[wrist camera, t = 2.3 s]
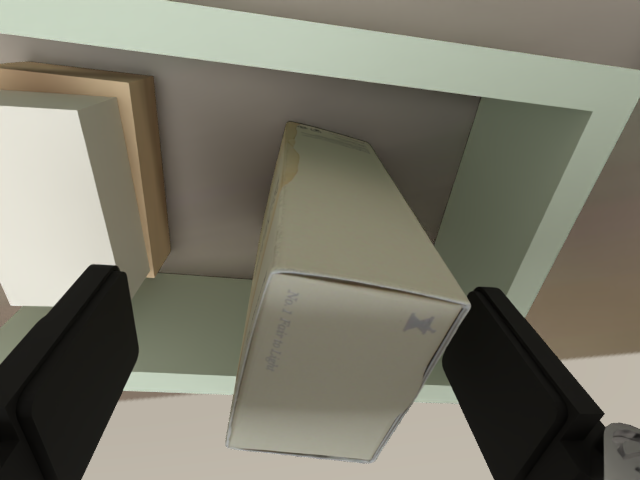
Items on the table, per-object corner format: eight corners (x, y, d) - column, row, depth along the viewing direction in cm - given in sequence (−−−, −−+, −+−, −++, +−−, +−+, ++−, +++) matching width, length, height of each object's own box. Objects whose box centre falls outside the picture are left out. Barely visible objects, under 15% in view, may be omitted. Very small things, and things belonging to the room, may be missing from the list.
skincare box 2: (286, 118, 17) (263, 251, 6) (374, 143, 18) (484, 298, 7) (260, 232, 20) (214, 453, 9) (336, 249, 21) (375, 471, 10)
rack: (519, 59, 16) (653, 72, 10) (432, 307, 23) (479, 404, 17) (-11, -18, 14) (-253, -62, 8) (68, 283, 21) (-27, 384, 15)
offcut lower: (156, 75, 16) (128, 82, 14) (172, 247, 20) (154, 278, 18) (31, 61, 16) (-22, 65, 13) (76, 240, 20) (42, 271, 17)
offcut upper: (116, 97, 14) (77, 110, 11) (150, 270, 18) (126, 307, 15) (-13, 88, 13) (-82, 100, 11) (51, 267, 17) (10, 305, 15)
